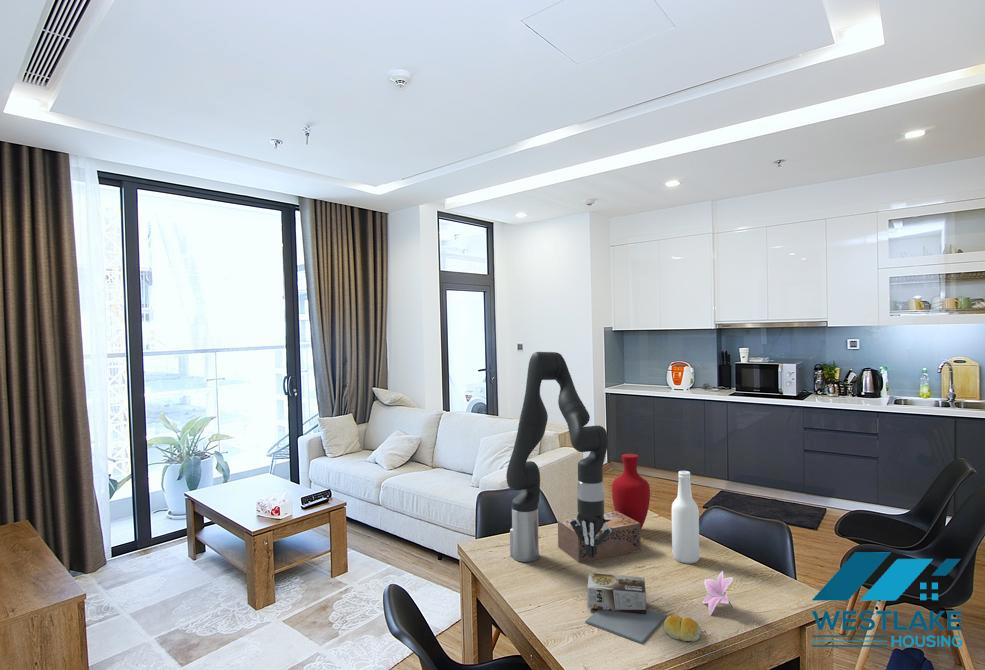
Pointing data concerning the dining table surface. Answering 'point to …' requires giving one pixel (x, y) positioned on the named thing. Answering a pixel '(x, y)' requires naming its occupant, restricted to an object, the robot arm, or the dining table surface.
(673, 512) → the alcohol
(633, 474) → the vase
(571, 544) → the tissue box cover
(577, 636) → the dining table surface
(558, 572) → the dining table surface
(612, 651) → the dining table surface
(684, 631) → the bread roll
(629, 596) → the coffee box
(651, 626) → the mat
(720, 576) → the lily
